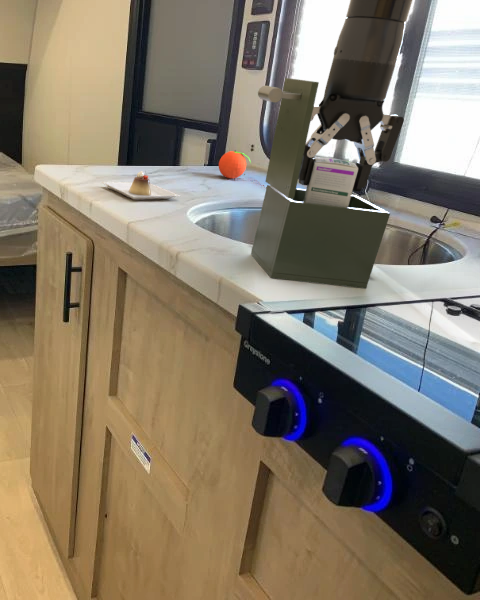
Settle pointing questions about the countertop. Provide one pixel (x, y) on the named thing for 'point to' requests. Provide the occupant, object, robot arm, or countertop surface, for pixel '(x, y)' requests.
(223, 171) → the clementine
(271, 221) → the trash bin
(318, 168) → the syrup box
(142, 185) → the dessert
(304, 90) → the bin lid
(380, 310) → the countertop surface
